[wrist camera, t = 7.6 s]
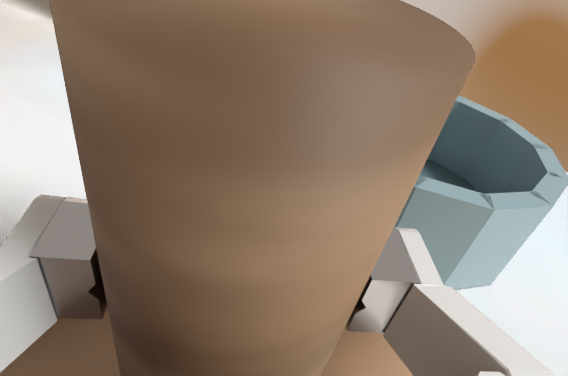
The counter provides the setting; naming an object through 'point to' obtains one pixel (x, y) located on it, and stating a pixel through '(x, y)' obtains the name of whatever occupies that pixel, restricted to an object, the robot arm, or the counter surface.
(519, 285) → the counter surface
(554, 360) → the counter surface
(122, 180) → the lid
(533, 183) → the bowl
